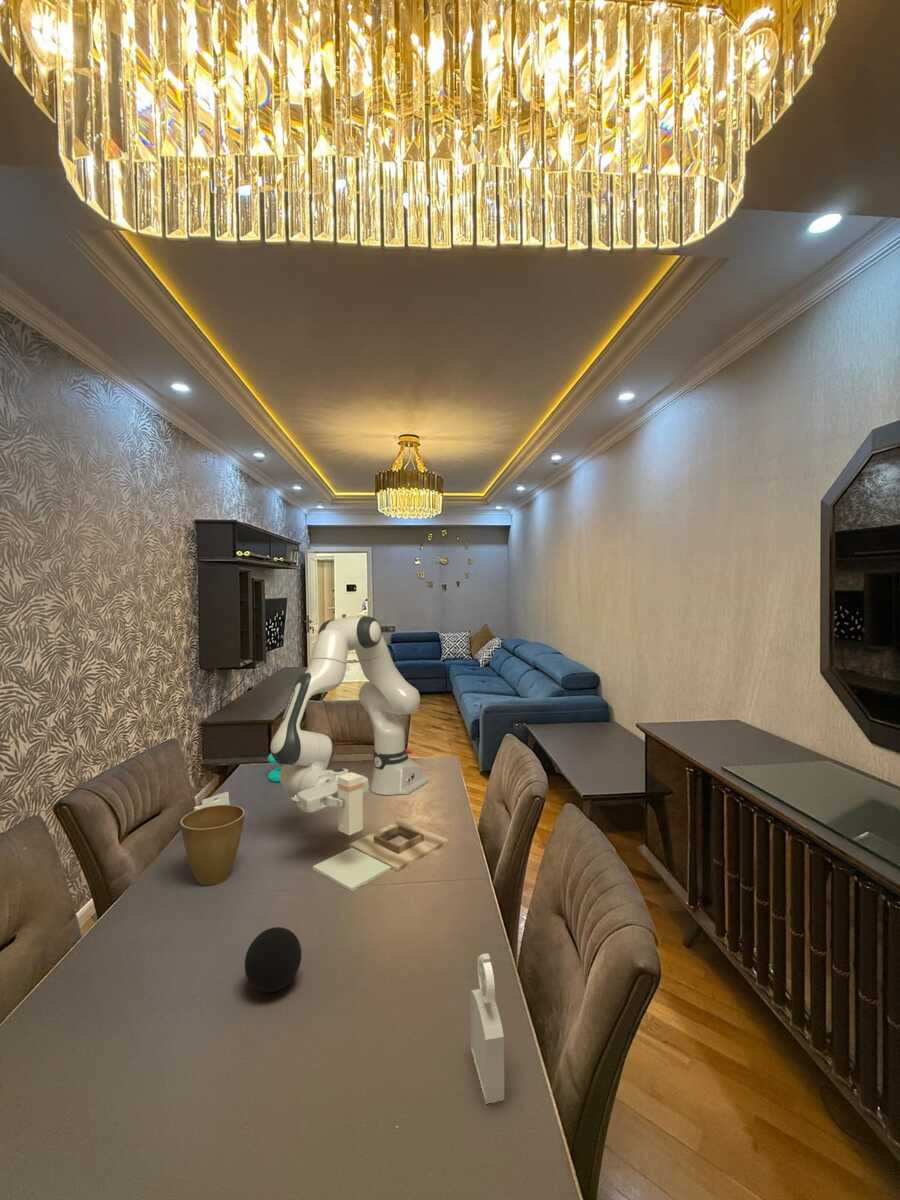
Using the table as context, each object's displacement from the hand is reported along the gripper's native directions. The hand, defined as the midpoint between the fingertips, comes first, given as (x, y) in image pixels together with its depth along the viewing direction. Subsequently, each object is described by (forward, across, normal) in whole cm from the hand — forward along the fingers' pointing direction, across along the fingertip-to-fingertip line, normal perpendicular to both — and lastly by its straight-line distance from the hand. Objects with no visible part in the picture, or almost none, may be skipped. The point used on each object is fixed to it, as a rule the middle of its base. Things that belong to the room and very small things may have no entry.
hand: (352, 800), depth 137 cm
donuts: (-75, +25, +19) cm, 81 cm away
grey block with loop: (+61, -23, +19) cm, 68 cm away
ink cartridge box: (-43, -17, +19) cm, 50 cm away
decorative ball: (+20, -35, +19) cm, 44 cm away
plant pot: (-25, -25, +19) cm, 40 cm away
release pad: (-1, 0, +19) cm, 19 cm away
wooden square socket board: (-1, +17, +18) cm, 25 cm away
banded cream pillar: (-1, 0, +8) cm, 8 cm away
